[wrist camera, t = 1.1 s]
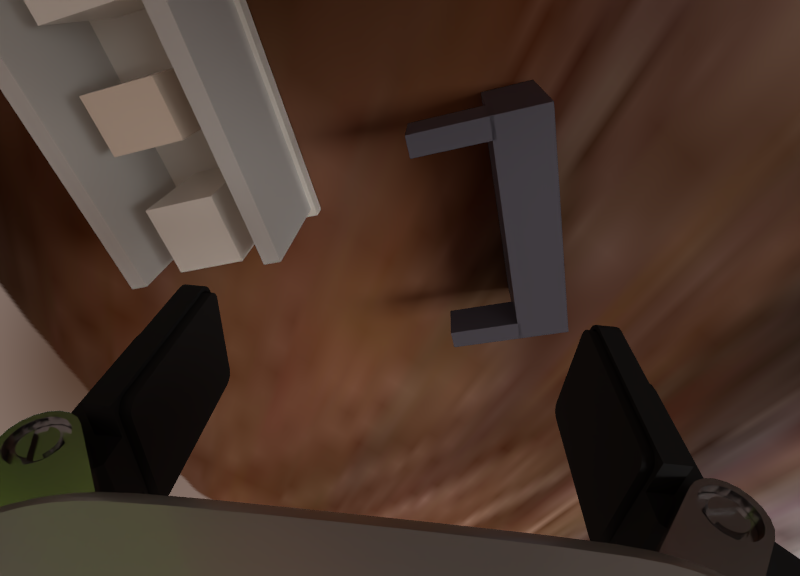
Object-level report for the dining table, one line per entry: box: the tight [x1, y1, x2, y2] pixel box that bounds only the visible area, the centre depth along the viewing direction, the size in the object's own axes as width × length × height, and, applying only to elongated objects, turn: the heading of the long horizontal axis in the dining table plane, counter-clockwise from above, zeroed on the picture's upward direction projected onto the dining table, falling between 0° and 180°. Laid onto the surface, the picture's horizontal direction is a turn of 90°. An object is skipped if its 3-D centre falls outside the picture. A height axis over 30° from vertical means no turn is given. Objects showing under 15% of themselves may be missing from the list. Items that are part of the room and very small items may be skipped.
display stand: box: [0, 0, 321, 289], centre depth 25 cm, size 10×18×8 cm, turn 14°
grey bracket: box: [405, 80, 568, 347], centre depth 28 cm, size 7×14×6 cm, turn 14°
